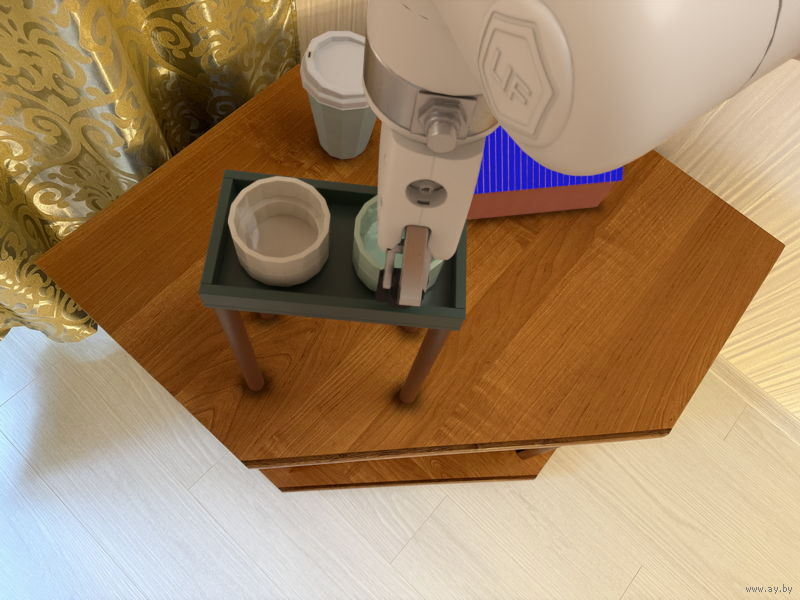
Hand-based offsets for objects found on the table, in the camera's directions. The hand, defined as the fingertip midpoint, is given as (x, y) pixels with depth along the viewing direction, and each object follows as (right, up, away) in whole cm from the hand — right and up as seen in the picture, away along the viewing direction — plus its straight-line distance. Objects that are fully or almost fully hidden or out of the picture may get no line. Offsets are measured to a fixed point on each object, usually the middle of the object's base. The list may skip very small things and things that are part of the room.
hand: (401, 240), depth 44 cm
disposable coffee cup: (-8, +17, +37) cm, 42 cm away
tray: (-8, -11, +25) cm, 28 cm away
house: (+16, +12, +38) cm, 43 cm away
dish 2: (0, -1, +3) cm, 3 cm away
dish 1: (-9, 0, +2) cm, 9 cm away
